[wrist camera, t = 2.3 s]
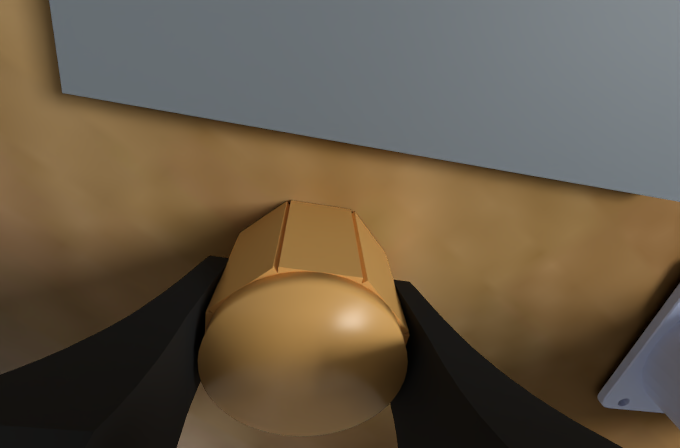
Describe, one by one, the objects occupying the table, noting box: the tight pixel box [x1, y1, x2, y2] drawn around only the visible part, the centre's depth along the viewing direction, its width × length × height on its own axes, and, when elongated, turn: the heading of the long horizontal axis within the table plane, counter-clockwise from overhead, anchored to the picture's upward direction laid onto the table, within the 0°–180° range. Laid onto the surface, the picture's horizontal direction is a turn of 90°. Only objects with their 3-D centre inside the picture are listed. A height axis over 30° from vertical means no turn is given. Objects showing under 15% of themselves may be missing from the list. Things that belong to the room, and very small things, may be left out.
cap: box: [198, 200, 409, 437], centre depth 11 cm, size 5×5×4 cm
